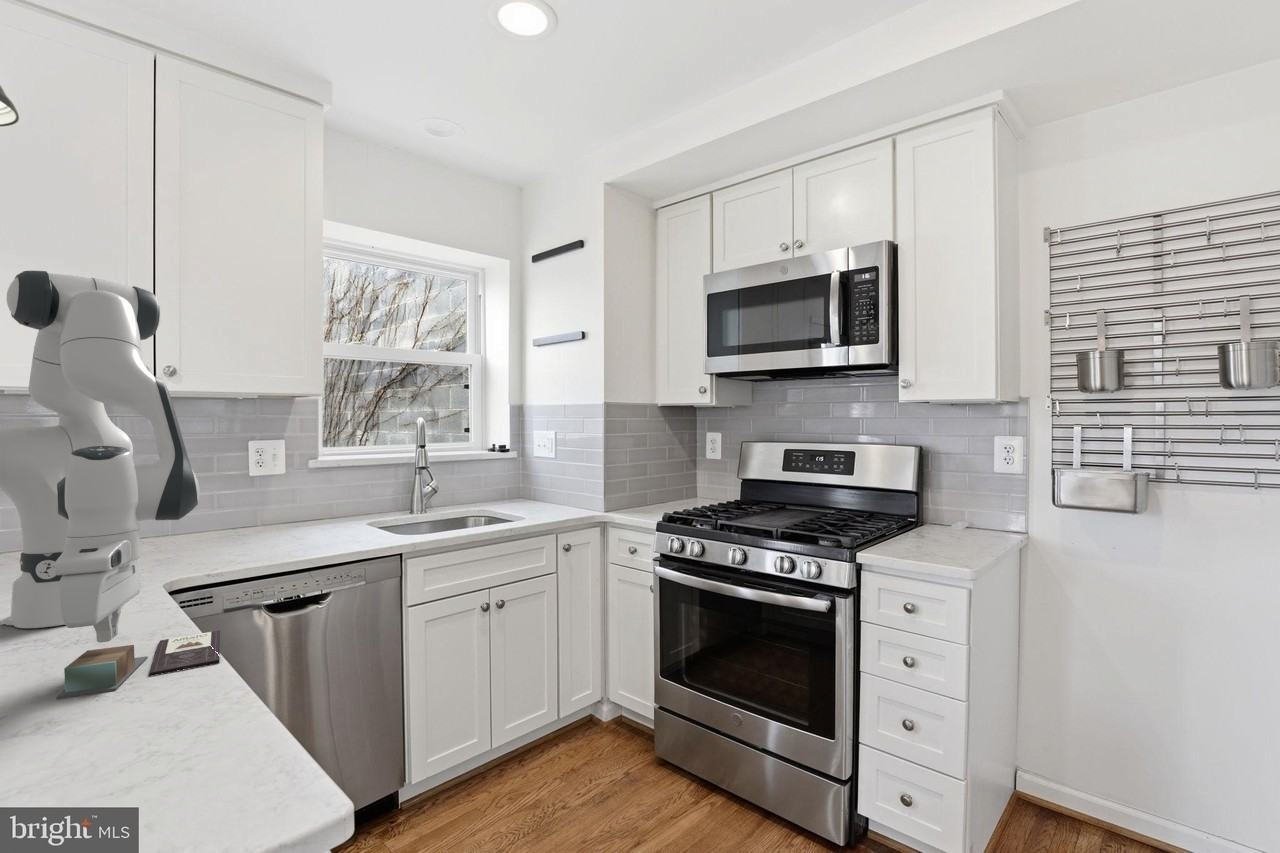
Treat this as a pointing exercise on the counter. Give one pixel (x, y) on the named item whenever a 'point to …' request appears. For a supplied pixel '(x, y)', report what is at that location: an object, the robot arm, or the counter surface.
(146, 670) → the counter surface
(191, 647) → the chocolate bar
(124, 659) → the teal brown rectangular block
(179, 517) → the robot arm
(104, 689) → the rubber mat
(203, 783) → the counter surface
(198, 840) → the counter surface
